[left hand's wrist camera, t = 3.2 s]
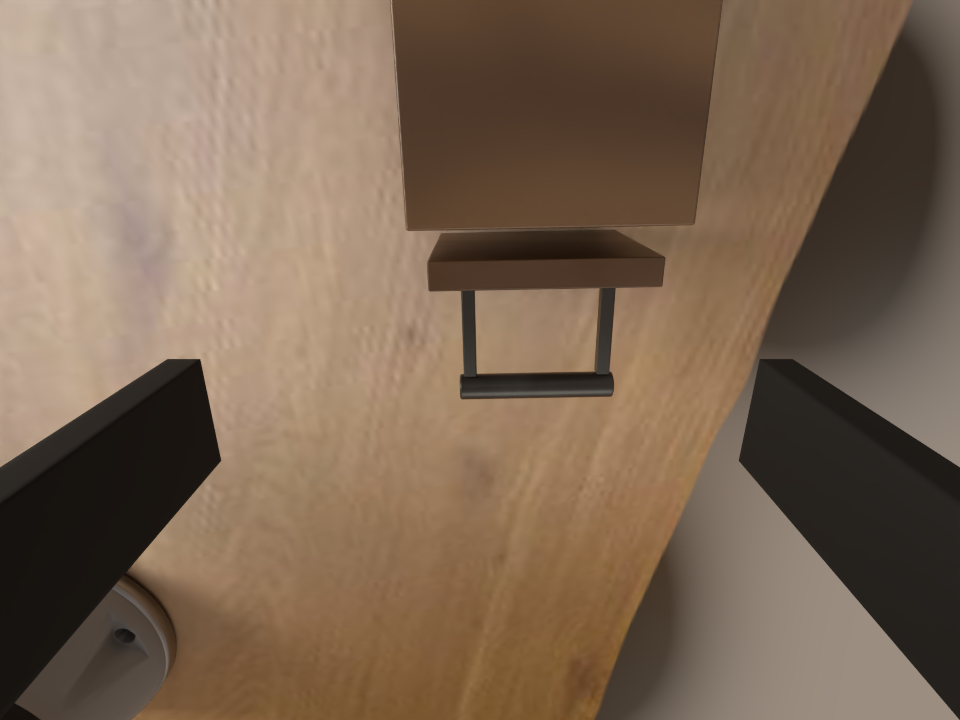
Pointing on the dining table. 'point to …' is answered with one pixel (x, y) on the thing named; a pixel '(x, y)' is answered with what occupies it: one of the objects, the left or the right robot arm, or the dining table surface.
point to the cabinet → (552, 111)
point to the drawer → (540, 266)
